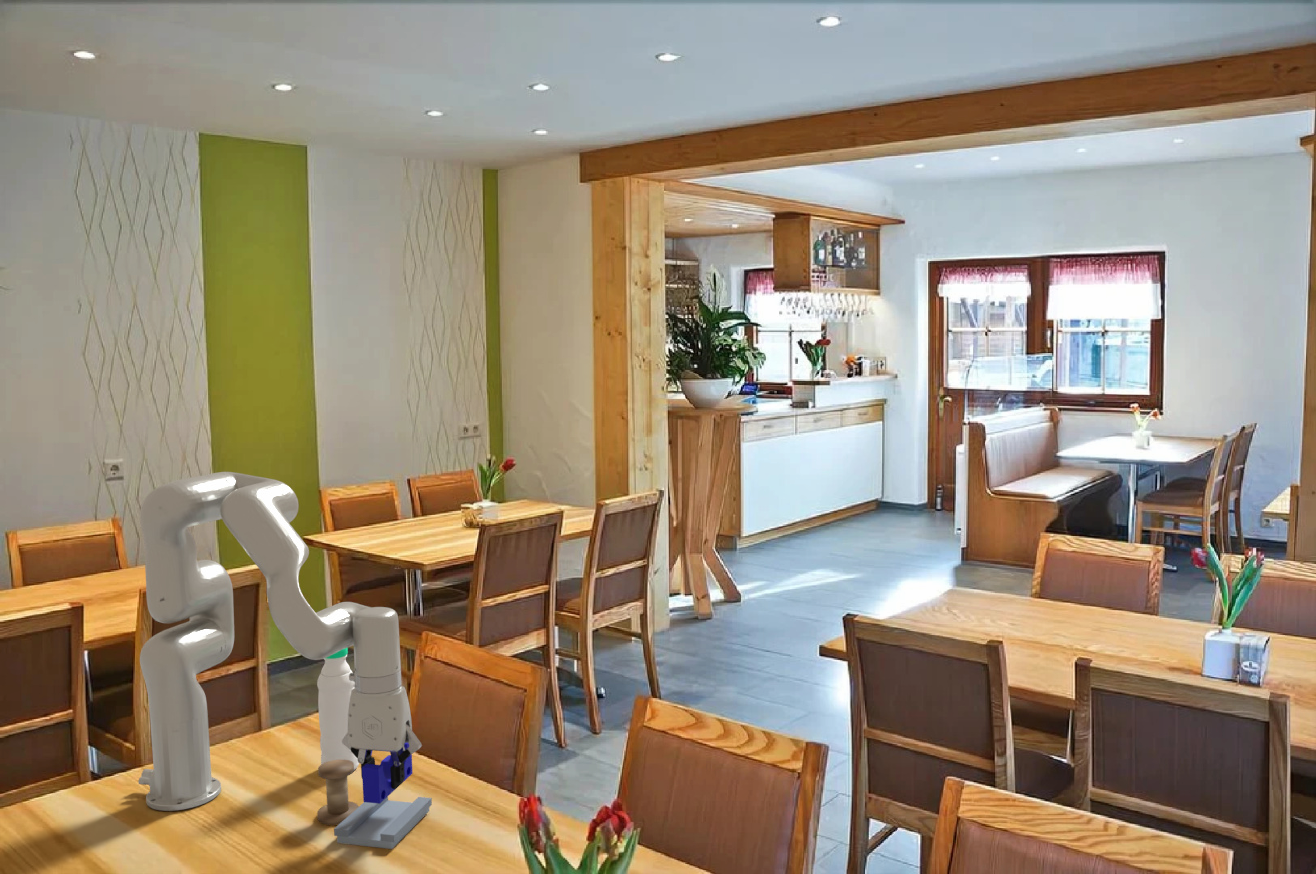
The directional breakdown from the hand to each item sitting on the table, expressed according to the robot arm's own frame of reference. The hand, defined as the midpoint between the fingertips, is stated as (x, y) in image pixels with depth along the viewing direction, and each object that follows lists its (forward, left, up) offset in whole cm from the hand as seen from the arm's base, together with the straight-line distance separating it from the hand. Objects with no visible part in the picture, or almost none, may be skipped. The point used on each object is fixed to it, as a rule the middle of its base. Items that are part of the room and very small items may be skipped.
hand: (383, 783), depth 182 cm
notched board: (0, 0, -8) cm, 8 cm away
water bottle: (-20, +20, -8) cm, 29 cm away
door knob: (-10, +2, -8) cm, 13 cm away
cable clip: (0, 0, -1) cm, 1 cm away
